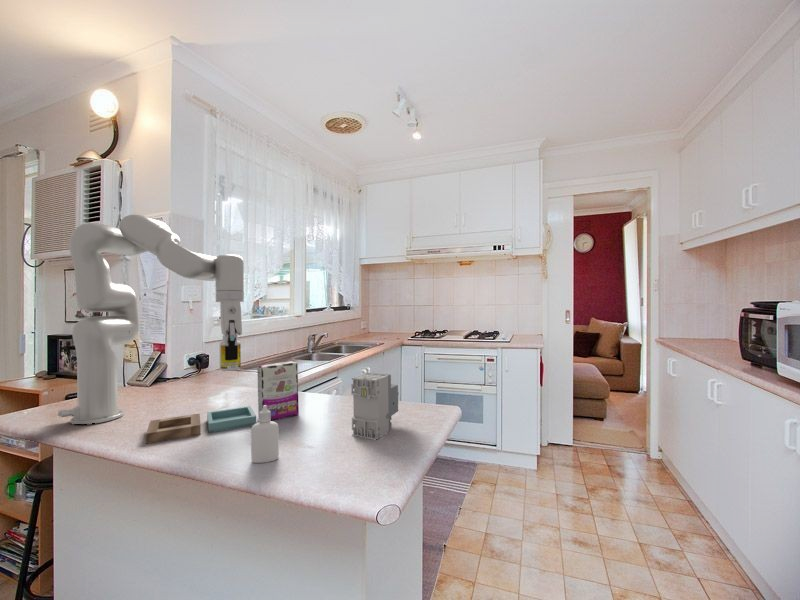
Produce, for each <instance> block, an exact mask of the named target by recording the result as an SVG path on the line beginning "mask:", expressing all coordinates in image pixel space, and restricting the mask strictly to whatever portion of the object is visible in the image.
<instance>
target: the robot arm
mask: <svg viewBox="0 0 800 600" xmlns="http://www.w3.org/2000/svg"><path fill="white" fill-rule="evenodd" d="M70 234H71V235H70V237H69V241H68V248H69V252H70V257H71V260H72V264H73V269H74V282H75V283H74V284H75V296H76V302H77V306H78V307H79V309H81V310H82V311H84V312H88V313H89V312H90V313H109V315H101V316H100V315H98V316H97V315H95V316H90V317H89V316H88V317H86V318H82V319H80V320H78V321H77V322H76V323H75V324H74V326H73V327H72V331H71V333H72V340H73V344H74V348H75V352H76V354H75V355H76V374H77V375H76V376H77V377H76V378H77V379H76V380H77V381H76V387H77V388H76V389H77V392H76V393H77V394H76V395H77V396H76V398H77V399H76V400H77V403H76V404H77V405H76V406H74V407H73V408H68V409H67V408H66V409H59V410H58V414H57V415H58V417H59V418H60V417H61V418H65V417H71V418H70V424H71V423H73V424H72V425H74V424H87V425H93V424H92V423H95V424H101V423H105V422H110V421H113V420H116V419H119V418H121V417H123V416H124V414H125V411H124V410H123V409H119V406H118V403H119V402H118V395H119V394H118V358H117V355H116V353H115V352H114V350H113V348H112V347H111V346H118V345H119V346H120V345H123V344H124V345H126V344H130V343H131V342H133V341H135V339H136V338H137V336H138V334H139V329H140V327H139V326H140V323H139V313H138V311H139V310H138V301H137V300H138V299H137V296H136V293H135V291H134V290H133V288H132V287H131V286H129V285H127V284H125V283H121V282H119V283H118V282H113V281H112V276H111V267H110V265H109V263H108V261H107V260H106V258H105V257H104V256H103V255H102V253H106V254H111V255H112V254H113V255H121V256H126V257H129V256H131V257H132V256H137V255H141V254H144V253H147V252H149V253H151V254H152V255H154V256H156V258H157V260H158V262H159V263H160V264H161V265H162V266H163V267H165V268H167V270H170V271H172V272H173V273H175V274H177V275H179V276H181V277H183V278H185V279H189V280H197V281H198V280H199V281H206V282H207V281H209V282H215V303H219V309H220V311H219V312H220V313H219V314H220V315H219V316H220V330H221V331H220V332H221V334H222V336H223V335H224V336H226V346H225V360H237V359H238V346H237V341H238V340H237V335H238V336H241V335H243V328H242V327H243V326H242V306H241V305H242V304H241V303H242V302H243V303H244V301H245V296H244V295H245V292H244V291H245V290H244V289H245V286H244V285H245V282H244V280H245V279H244V278H245V277H244V274H245V273H244V272H245V271H244V270H245V269H244V267H245V266H244V265H245V264H244V259H243V257H242V256H240V255H238V254H219V255H217V256H212V255H208V254H204V253H197V252H193V251H191V250H189V249H187V248H186V247H184V246H182V245H181V239H180V237H179V235H177V234H176V233H174V232H173V231H172V230H171V228H170V227H169V225H167V224H166V223H165V222H164V221H162V220H159V219H155V218H151V217H148V216H144V215H140V214H128V215H126V216H124V217H123V218H121V220H120V221H119V224H118V227H116V226H112V225H109V224H103V223H95V222H86V223H82V224H81V225H79V226H77V227H76V228H74V230H73V231H72V233H70Z"/></svg>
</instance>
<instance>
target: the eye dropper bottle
mask: <svg viewBox="0 0 800 600" xmlns="http://www.w3.org/2000/svg"><path fill="white" fill-rule="evenodd" d="M270 420H271V411H269V410H267V406H266V405H264V406H263V409H262V411H260V412H259V415H258V422H256V424H254V425H252V426H251V431H250V439H251V441H250V442H251V444H250V445H251V447H250V449H251V452H250V453H251V455H250V456H251V458H250V459H251V462H252V463H253V464H263V463H264V464H265V463H270V461H271V462H274V461H277V460H278V459H279V455H280V452H279V451H280V449H279V448H280V446H279V444H280V443H279V440H280V439H279V423H277V422H276V421H275V420H272V421H270Z"/></svg>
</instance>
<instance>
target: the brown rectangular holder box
mask: <svg viewBox="0 0 800 600" xmlns="http://www.w3.org/2000/svg"><path fill="white" fill-rule="evenodd" d="M147 426H148V427H147V430H146V432H145V444H146V445H148V444H152V443H153V444H155V443H157V442H164V441H170V440H176V438H177V439H181V437H182V438H188V437H193V436H199V435H201V429H202V428H201V414H200V413H194V414H188V415H180V416H172V417H167V418H166V417H165V418H161V419H153V420H150V421H149V424H148V425H147ZM187 436H188V437H187Z"/></svg>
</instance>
